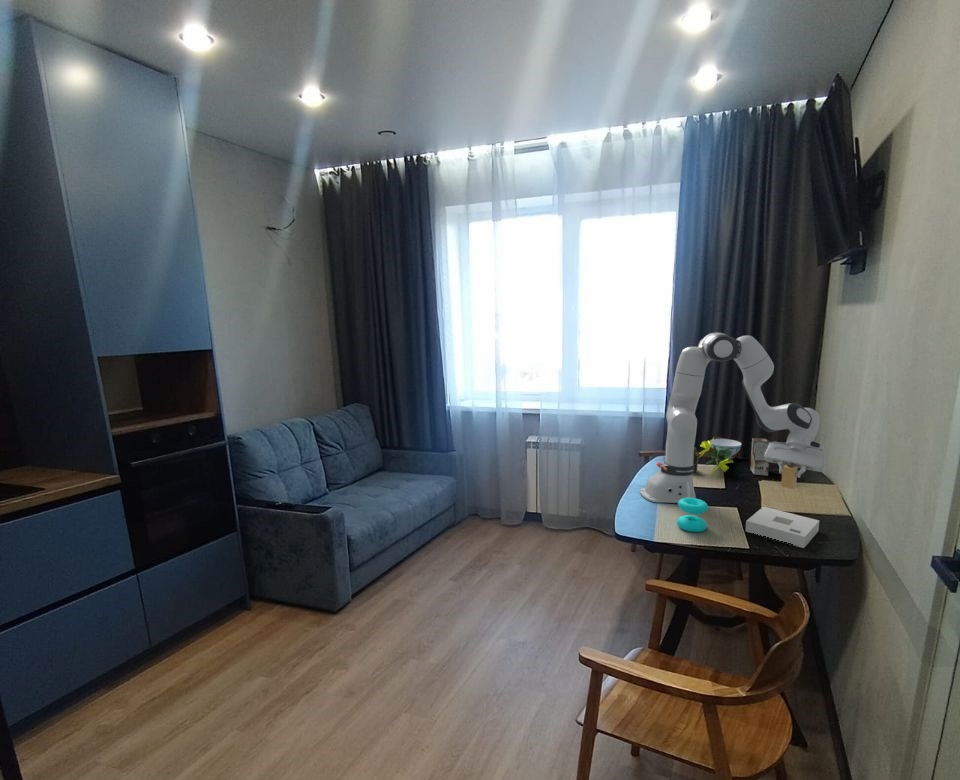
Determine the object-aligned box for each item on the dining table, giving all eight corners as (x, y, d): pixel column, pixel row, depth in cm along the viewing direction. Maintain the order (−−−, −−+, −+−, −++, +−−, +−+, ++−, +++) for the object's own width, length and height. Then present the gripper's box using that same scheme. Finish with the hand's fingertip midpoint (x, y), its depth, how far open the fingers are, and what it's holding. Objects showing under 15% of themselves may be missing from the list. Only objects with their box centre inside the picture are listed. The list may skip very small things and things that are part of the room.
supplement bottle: (692, 474, 236) (693, 450, 234) (679, 471, 241) (680, 447, 239) (700, 471, 240) (701, 447, 238) (687, 468, 245) (688, 445, 243)
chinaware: (744, 455, 264) (745, 442, 263) (735, 462, 253) (736, 447, 252) (715, 450, 274) (716, 437, 273) (705, 456, 264) (706, 442, 262)
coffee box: (768, 475, 232) (771, 442, 229) (753, 474, 234) (755, 442, 231) (764, 470, 240) (766, 438, 238) (749, 468, 242) (752, 437, 240)
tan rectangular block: (780, 486, 189) (783, 462, 188) (784, 483, 192) (786, 460, 190) (792, 489, 186) (795, 465, 185) (795, 486, 189) (798, 462, 187)
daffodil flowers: (749, 466, 249) (734, 465, 222) (721, 476, 256) (703, 476, 229) (733, 436, 255) (717, 431, 228) (706, 447, 263) (687, 443, 236)
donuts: (705, 509, 170) (675, 503, 176) (703, 536, 172) (674, 529, 178) (710, 499, 178) (681, 494, 184) (709, 525, 180) (680, 519, 186)
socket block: (745, 531, 175) (746, 519, 174) (762, 516, 187) (763, 505, 186) (803, 548, 162) (805, 536, 161) (818, 531, 174) (819, 519, 173)
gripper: (768, 436, 199) (758, 464, 194) (828, 445, 184) (819, 476, 179) (771, 444, 202) (760, 472, 197) (830, 454, 187) (821, 485, 182)
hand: (789, 474), depth 188 cm, fingers closed on tan rectangular block, 4 cm apart
